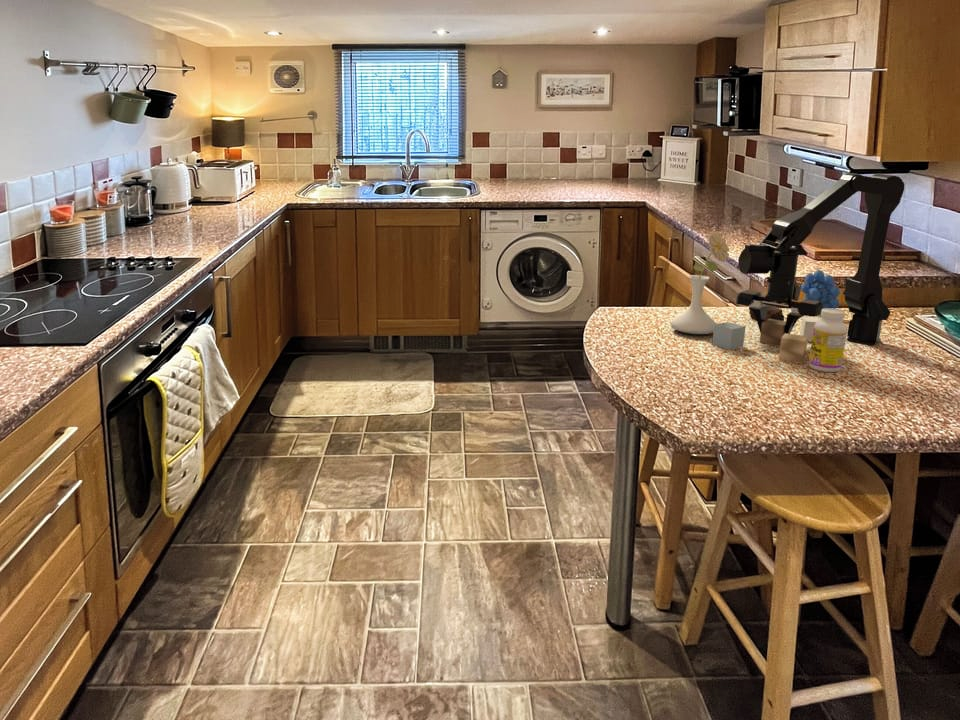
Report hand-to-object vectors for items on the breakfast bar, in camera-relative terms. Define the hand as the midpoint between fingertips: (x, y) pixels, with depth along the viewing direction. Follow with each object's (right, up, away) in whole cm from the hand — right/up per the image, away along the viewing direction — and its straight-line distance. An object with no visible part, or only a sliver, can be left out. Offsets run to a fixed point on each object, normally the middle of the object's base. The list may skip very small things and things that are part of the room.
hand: (774, 338), depth 209 cm
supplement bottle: (+4, -7, -20) cm, 21 cm away
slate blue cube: (-12, -2, -4) cm, 13 cm away
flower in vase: (-17, +2, +8) cm, 18 cm away
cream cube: (+11, 0, +5) cm, 12 cm away
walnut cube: (0, -1, 0) cm, 1 cm away
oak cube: (0, -5, -13) cm, 14 cm away
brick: (+5, +4, +20) cm, 21 cm away
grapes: (+22, +7, +32) cm, 39 cm away
